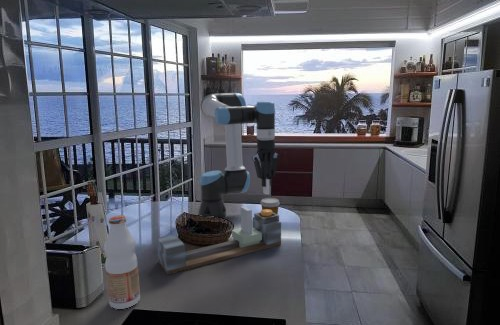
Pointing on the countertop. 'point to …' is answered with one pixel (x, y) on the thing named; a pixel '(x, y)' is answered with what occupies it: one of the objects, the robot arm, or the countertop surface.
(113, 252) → the fruit juice
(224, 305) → the countertop surface
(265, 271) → the countertop surface
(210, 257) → the rail bench
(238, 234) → the block
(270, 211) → the button
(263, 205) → the disposable coffee cup
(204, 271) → the countertop surface
